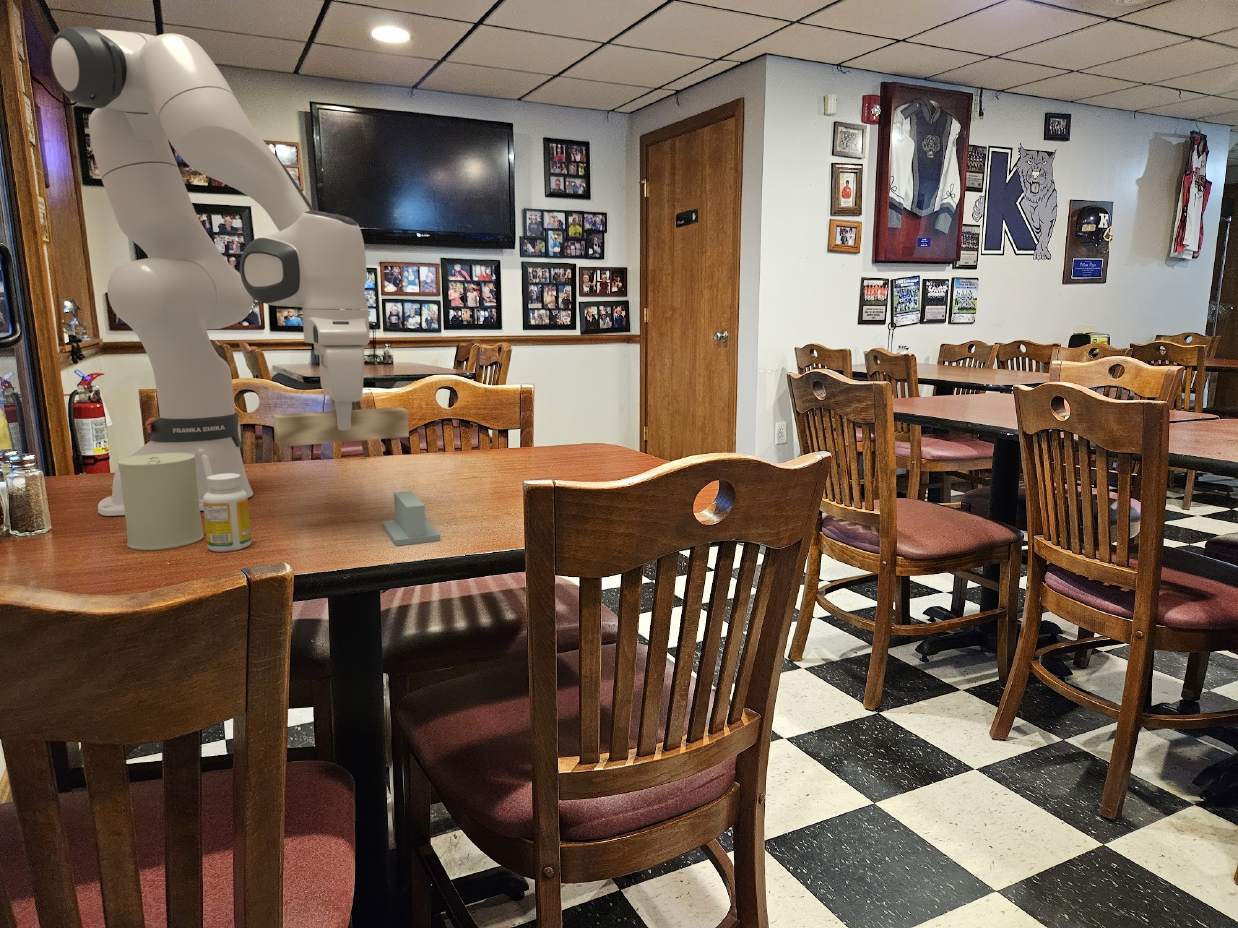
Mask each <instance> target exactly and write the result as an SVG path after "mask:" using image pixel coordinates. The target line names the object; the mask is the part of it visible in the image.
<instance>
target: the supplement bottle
mask: <svg viewBox="0 0 1238 928" xmlns="http://www.w3.org/2000/svg"><path fill="white" fill-rule="evenodd" d="M240 485H241V476H240V475H239V474H234V473H226V474H217V475H212V476H209V477H207V486H208V488H209V489H210V491H209V492H207V493H206V494H205V495H204V497H203V507H204V510H203V514H204V515H203V516H204V526H205V527H204V528H205V537H206V546H207V549H208V550H209V551H212V552H216V553H217V552H218V553H221V552H222V553H226V552H227V553H228V552H233V551H238V550H243V549H245V548H247V547H249V546H250V545H251V544H252V533H251V521H250V520H251V519H250V507H249V498H248V495H247V493H246V492H245V491H244V490H242V489H239V486H240Z"/></svg>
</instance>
